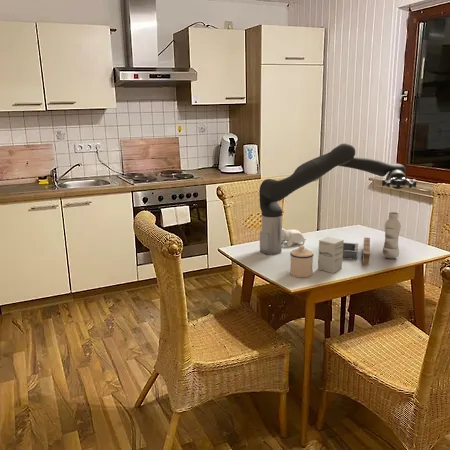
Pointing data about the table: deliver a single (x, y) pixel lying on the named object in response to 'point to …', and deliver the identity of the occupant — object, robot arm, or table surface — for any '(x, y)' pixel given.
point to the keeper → (350, 250)
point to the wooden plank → (366, 251)
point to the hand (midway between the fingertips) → (399, 185)
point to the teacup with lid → (301, 262)
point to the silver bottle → (391, 236)
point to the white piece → (292, 237)
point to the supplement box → (330, 254)
